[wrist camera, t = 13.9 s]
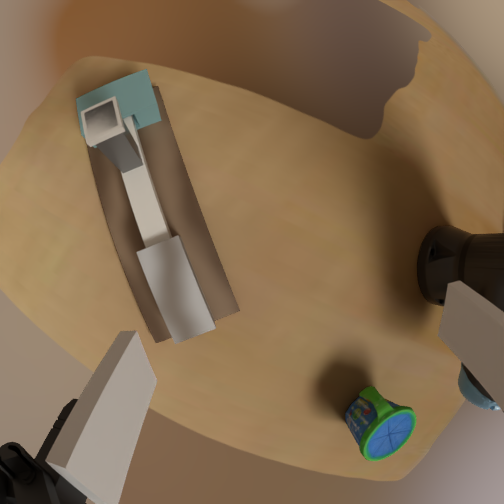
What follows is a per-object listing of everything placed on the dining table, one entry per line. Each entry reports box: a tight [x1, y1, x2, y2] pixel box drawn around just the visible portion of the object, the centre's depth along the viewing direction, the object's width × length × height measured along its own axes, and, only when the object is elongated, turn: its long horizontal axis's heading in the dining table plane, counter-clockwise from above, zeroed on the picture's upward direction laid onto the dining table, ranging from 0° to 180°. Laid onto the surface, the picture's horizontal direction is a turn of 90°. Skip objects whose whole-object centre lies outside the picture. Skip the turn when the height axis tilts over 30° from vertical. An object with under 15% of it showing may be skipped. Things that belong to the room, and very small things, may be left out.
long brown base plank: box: [87, 86, 240, 344], centre depth 32 cm, size 12×34×6 cm, turn 21°
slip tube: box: [81, 96, 172, 248], centre depth 25 cm, size 3×22×14 cm, turn 21°
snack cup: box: [345, 386, 416, 461], centre depth 37 cm, size 16×10×10 cm
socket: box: [76, 69, 162, 148], centre depth 30 cm, size 10×6×5 cm, turn 111°
